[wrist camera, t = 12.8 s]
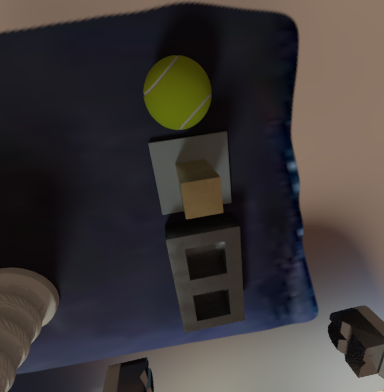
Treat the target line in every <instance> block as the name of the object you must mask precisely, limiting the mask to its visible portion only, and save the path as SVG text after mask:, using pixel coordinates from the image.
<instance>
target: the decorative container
mask: <svg viewBox="0 0 384 392" xmlns="http://www.w3.org/2000/svg"><path fill="white" fill-rule="evenodd" d="M58 305H59V295H58V292H57V289H56V288H55V287H54V285H53V284H52V283H51V282H50V281H49V280H48V279H46V278H45V277H44V276H42V275H40V274H38V273H36V272H34V271H30V270H27V269H23V268H13V267H10V268H0V392H8V390H9V389H10V388H11V386H12V384H13V382H14V378H15V375H16V370H17V368H18V367H19V366H20V365H21V364H22V363H23V362H24V360H25V359H26V357H27V356H28V353H29V349H30V347H31V343H32V342H33V341H34V340H35V339H36V337H37V336H38V334H39V333H40V330H41V327H42V326H44V325H45V324H47V323H48V322H49V321H50V320H51V319H52V318H53V316H54V314H55V312H56V310H57V308H58Z"/></svg>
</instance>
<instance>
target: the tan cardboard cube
mask: <svg viewBox="0 0 384 392" xmlns="http://www.w3.org/2000/svg"><path fill="white" fill-rule="evenodd" d="M175 167H176V173H177V179H178V185H179V192H180V196H181V200H182V204H183V209H184V213H185V217H186V219H192V218H197V217H203V216H208V215H214V214H220V213H223V201H222V189H221V177H220V176H219V175H218V173H217V172H216V171H215V170H214V169H213V168H212V166H211V165H210V164H209V163H208V162H207V160H206V159H201V160H195V161H189V162H183V163H176V164H175Z"/></svg>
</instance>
